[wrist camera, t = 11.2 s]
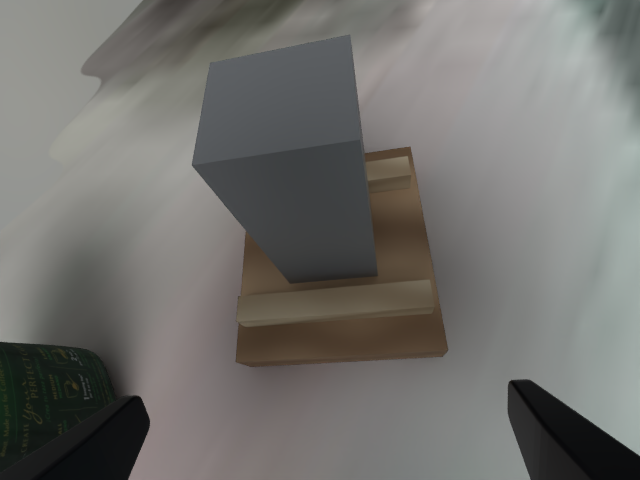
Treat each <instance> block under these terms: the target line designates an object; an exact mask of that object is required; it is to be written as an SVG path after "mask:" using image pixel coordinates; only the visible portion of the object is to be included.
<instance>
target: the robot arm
mask: <svg viewBox="0 0 640 480" xmlns="http://www.w3.org/2000/svg"><path fill="white" fill-rule="evenodd" d="M508 416H509V420H510V423H511V426H512V428H513V431H514V434H515V437H516V440H517V442H518V445H519V448H520V451H521V454H522V456H523V459H524V462H525V465H526V467H527V470H528V473H529V476H530V479H531V480H640V456H639V455H638V454H636V453H635V452H633V451H632V450H630V449H629V448H628V447H626V446H625V445H623V444H622V443H620V442H619V441H618V440H616V439H615V438H613V437H612V436H610V435H609V434H607V433H606V432H605V431H603V430H602V429H600V428H599V427H597V426H596V425H595V424H593V423H592V422H590V421H589V420H587V419H586V418H584V417H583V416H582V415H580V414H579V413H577V412H576V411H574V410H573V409H572V408H570V407H569V406H567V405H566V404H564V403H563V402H561V401H560V400H559V399H557V398H556V397H554V396H553V395H551V394H550V393H549V392H547V391H546V390H544V389H543V388H541V387H540V386H538V385H537V384H536V383H534V382H533V381H531V380H527V379H523V380H511V381H510V382H509V384H508ZM149 427H150V419H149V416H148V414H147V411H146V408H145V406H144V403H143V401H142V399H141V397H139V396H137V395H133V396H123V397H121V398H119V399H117V400H116V401H114V402H113V403H111V404H109V405H108V406H106V407H105V408H103V409H101V410H100V411H98V412H97V413H95V414H93V415H92V416H90V417H89V418H87V419H86V420H84V421H82V422H81V423H79V424H78V425H76V426H74V427H73V428H71V429H70V430H68V431H66V432H65V433H63V434H62V435H60V436H58V437H57V438H55V439H54V440H52V441H50V442H49V443H47V444H46V445H44V446H42V447H41V448H39V449H38V450H36V451H34V452H33V453H31V454H30V455H28V456H26V457H25V458H23V459H22V460H20V461H18V462H17V463H15V464H14V465H12V466H11V467H9V468H7V469H6V470H4V471H3V472H1V473H0V480H128V478H129V476H130V474H131V471H132V469H133V466H134V464H135V462H136V459H137V457H138V454H139V452H140V450H141V447H142V445H143V443H144V440H145V438H146V435H147V433H148V430H149Z"/></svg>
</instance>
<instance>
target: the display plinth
mask: <svg viewBox="0 0 640 480" xmlns="http://www.w3.org/2000/svg"><path fill="white" fill-rule="evenodd" d="M364 154H365V162H366V170H367V179H368V187H369V195H370V204H371V213H372V223H373V232H374V242H375V252H376V262H377V271H378V276H374V277H363V278H351V279H340V280H328V281H317V282H305V283H294V284H290V283H289V282H288V281H287V279H286V278H285V277H284V276H283V275H282V273H281V272H280V271H279V270H278V269H277V267H276V266H275V265H274V264H273V263H272V261H271V260H270V259H269V258H268V257H267V255H266V254H265V253H264V252H263V251H262V249H261V248H260V247H259V246H258V244H257V243H256V242H255V241H254V240H253V238H252V237H251V236H250V235H249V234H248V232H247V231H246V236H245V249H244V262H243V275H242V288H241V296H238V305H237V318H236V322H238V323H239V326H238V339H237V352H236V362H237V363H240V364H244V365H247V366H250V367H258V366H277V365H295V364H314V363H332V362H351V361H370V360H388V359H407V358H425V357H443V355H444V354H445V353H446V352H447V351H448V347H447V341H446V336H445V330H444V325H443V320H442V314H441V309H440V304H439V298H438V293H437V287H436V282H435V277H434V271H433V266H432V260H431V255H430V250H429V244H428V239H427V234H426V228H425V223H424V217H423V212H422V207H421V201H420V196H419V190H418V185H417V180H416V174H415V169H414V164H413V158H412V153H411V147H404V148H398V149H391V150H384V151H378V152H371V153H364Z"/></svg>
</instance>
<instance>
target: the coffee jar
mask: <svg viewBox="0 0 640 480" xmlns="http://www.w3.org/2000/svg"><path fill="white" fill-rule="evenodd" d="M114 401H116V397H115V394H114V390H113V387H112V384H111V381H110V379H109V376H108V374H107V371H106V369H105V367H104V365H103V363H102V361H101V360H100V358H99V357H98V356H97V355H96V354H94V353H93V352H91V351H89V350H86V349H81V348H74V347H65V346H55V345H41V344H23V343H7V342H0V473H1V472H3V471H4V470H6V469H7V468H9V467H11V466H12V465H14V464H15V463H17V462H18V461H20V460H22V459H23V458H25V457H26V456H28V455H30V454H31V453H33V452H34V451H36V450H38V449H39V448H41V447H42V446H44V445H46V444H47V443H49V442H50V441H52V440H54V439H55V438H57V437H58V436H60V435H62V434H63V433H65V432H66V431H68V430H70V429H71V428H73V427H74V426H76V425H78V424H79V423H81V422H82V421H84V420H86V419H87V418H89V417H90V416H92V415H93V414H95V413H97V412H98V411H100V410H101V409H103V408H105V407H106V406H108V405H109V404H111V403H113V402H114Z"/></svg>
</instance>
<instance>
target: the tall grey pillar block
mask: <svg viewBox="0 0 640 480" xmlns="http://www.w3.org/2000/svg"><path fill="white" fill-rule="evenodd" d="M192 166H193V167H194V168H195V170H196V171H197V172H198V173H199V175H200V176H201V177H202V178H203V179H204V181H205V182H206V183H207V184H208V185H209V187H210V188H211V189H212V190H213V191H214V193H215V194H216V195H217V196H218V197H219V199H220V200H221V201H222V202H223V203H224V205H225V206H226V207H227V208H228V209H229V211H230V212H231V213H232V214H233V216H234V217H235V218H236V219H237V220H238V222H239V223H240V224H241V225H242V226H243V228H244V229H245V230H246V231H247V232H248V234H249V235H250V236H251V237H252V238H253V240H254V241H255V242H256V243H257V244H258V246H259V247H260V248H261V249H262V251H263V252H264V253H265V254H266V255H267V257H268V258H269V259H270V260H271V261H272V263H273V264H274V265H275V266H276V267H277V269H278V270H279V271H280V272H281V273H282V275H283V276H284V277H285V278H286V279H287V281H288V282H289V283H290V284H294V283H305V282H317V281H328V280H340V279H351V278H363V277H374V276H378V271H377V262H376V252H375V242H374V232H373V223H372V213H371V204H370V195H369V187H368V179H367V170H366V162H365V154H364V145H363V137H362V129H361V120H360V112H359V104H358V95H357V87H356V79H355V70H354V62H353V54H352V45H351V37H350V35H346V36H341V37H336V38H331V39H326V40H321V41H316V42H311V43H306V44H301V45H296V46H292V47H287V48H282V49H277V50H272V51H267V52H262V53H257V54H252V55H247V56H242V57H237V58H232V59H227V60H222V61H217V62H212V63H210V66H209V72H208V77H207V83H206V88H205V94H204V100H203V105H202V111H201V116H200V122H199V127H198V133H197V139H196V144H195V150H194V155H193V161H192Z"/></svg>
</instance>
